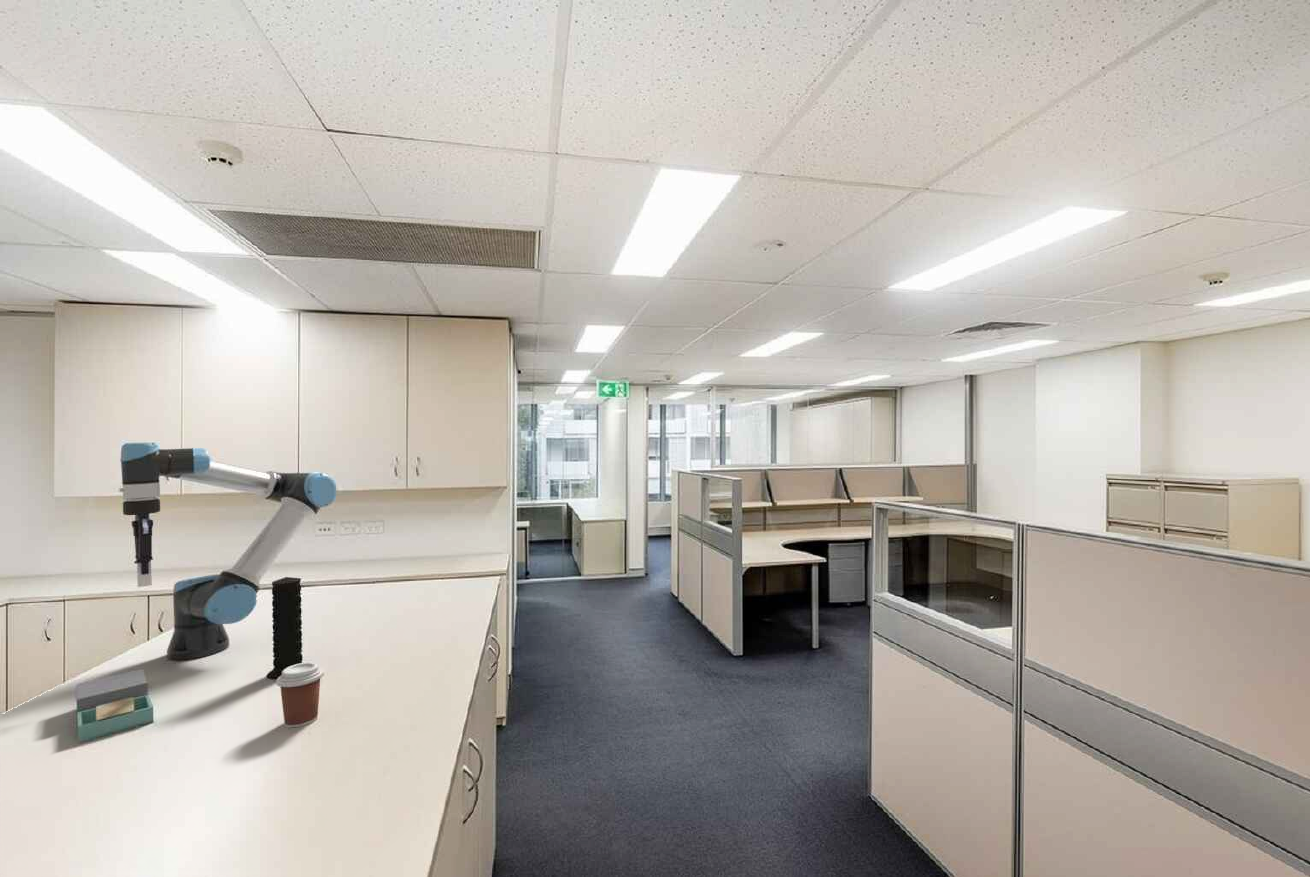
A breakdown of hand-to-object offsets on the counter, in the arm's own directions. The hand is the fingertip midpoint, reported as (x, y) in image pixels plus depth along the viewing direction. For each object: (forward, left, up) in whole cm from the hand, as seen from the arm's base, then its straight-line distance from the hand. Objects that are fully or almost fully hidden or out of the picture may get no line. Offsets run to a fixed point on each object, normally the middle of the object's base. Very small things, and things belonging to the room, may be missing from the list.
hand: (144, 585), depth 153 cm
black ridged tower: (-28, +23, -26) cm, 45 cm away
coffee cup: (-22, +59, -26) cm, 68 cm away
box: (+7, +28, -26) cm, 39 cm away
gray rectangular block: (+7, +15, -26) cm, 31 cm away
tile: (+7, +29, -21) cm, 37 cm away
